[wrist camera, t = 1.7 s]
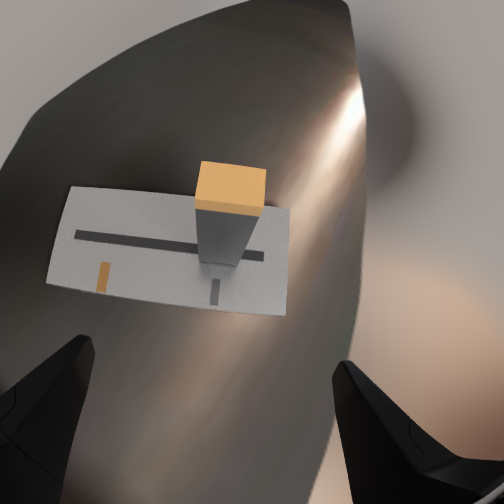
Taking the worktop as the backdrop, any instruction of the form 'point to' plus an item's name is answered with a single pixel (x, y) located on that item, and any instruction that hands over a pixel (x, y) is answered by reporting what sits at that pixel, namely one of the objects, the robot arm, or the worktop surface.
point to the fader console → (165, 254)
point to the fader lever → (227, 210)
